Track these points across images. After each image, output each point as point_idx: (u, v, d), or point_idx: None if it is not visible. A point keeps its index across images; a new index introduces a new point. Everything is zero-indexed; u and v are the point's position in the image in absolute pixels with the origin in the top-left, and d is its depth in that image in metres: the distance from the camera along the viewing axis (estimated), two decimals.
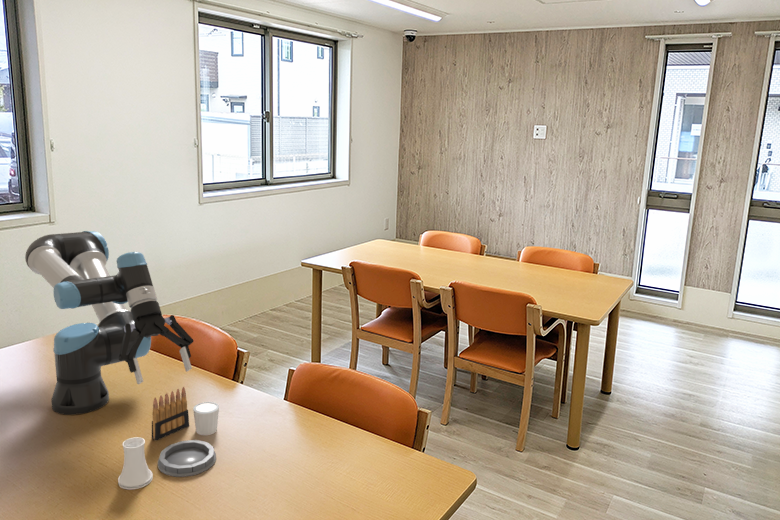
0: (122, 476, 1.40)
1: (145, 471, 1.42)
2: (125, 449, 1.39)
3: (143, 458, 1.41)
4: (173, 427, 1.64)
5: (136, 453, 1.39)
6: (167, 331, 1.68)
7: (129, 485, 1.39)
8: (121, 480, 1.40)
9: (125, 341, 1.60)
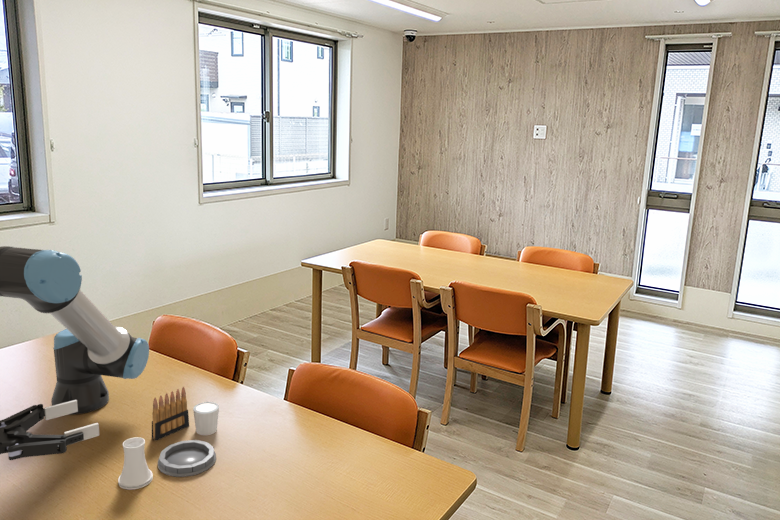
0: (122, 476, 1.40)
1: (145, 471, 1.42)
2: (125, 449, 1.39)
3: (143, 458, 1.41)
4: (173, 427, 1.64)
5: (136, 453, 1.39)
6: None
7: (129, 485, 1.39)
8: (121, 480, 1.40)
9: None
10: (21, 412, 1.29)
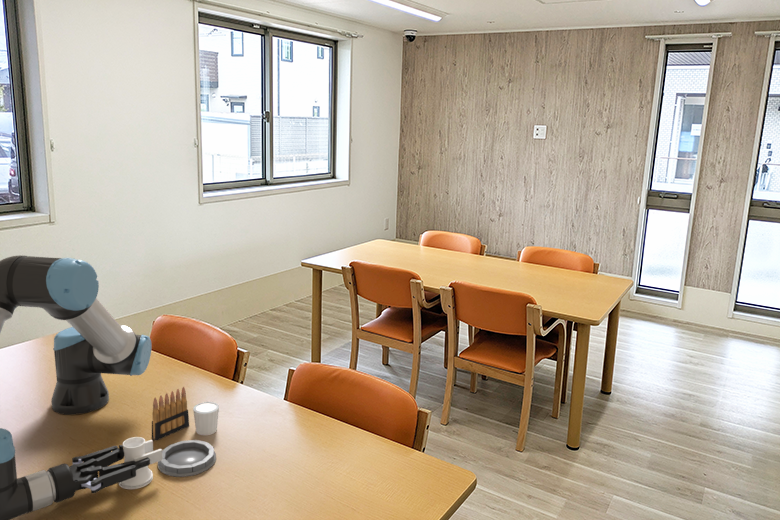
0: None
1: (145, 471, 1.42)
2: (125, 449, 1.39)
3: None
4: (173, 427, 1.64)
5: (136, 453, 1.39)
6: None
7: (129, 485, 1.39)
8: None
9: None
10: (100, 451, 1.41)
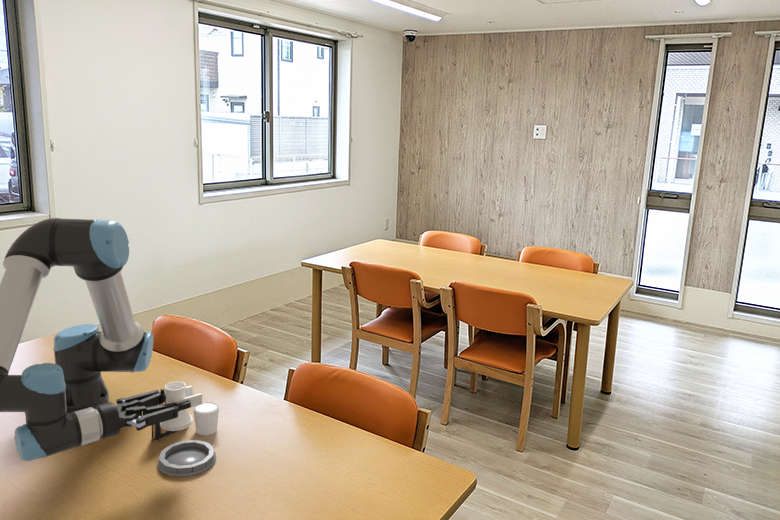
0: None
1: (186, 414, 1.46)
2: (167, 391, 1.43)
3: None
4: None
5: (178, 395, 1.43)
6: None
7: (171, 426, 1.43)
8: (163, 422, 1.44)
9: None
10: (143, 394, 1.45)
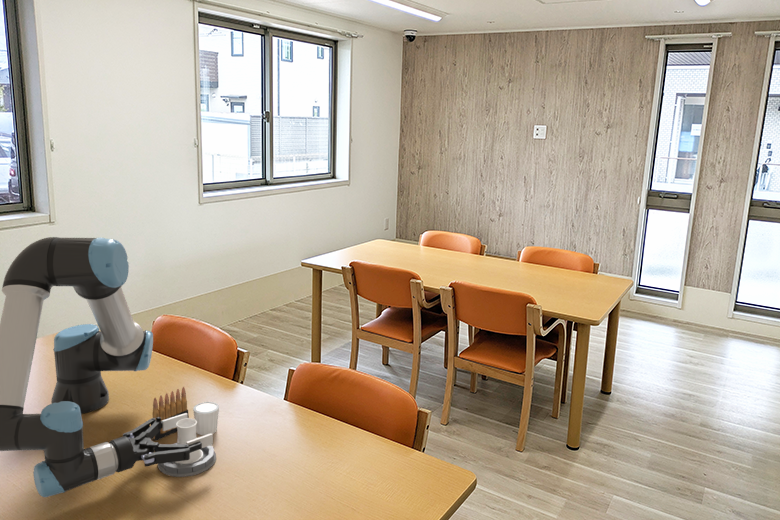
0: None
1: (197, 450, 1.50)
2: (179, 429, 1.48)
3: (195, 438, 1.50)
4: None
5: (189, 433, 1.48)
6: None
7: (183, 463, 1.48)
8: None
9: None
10: (144, 425, 1.50)
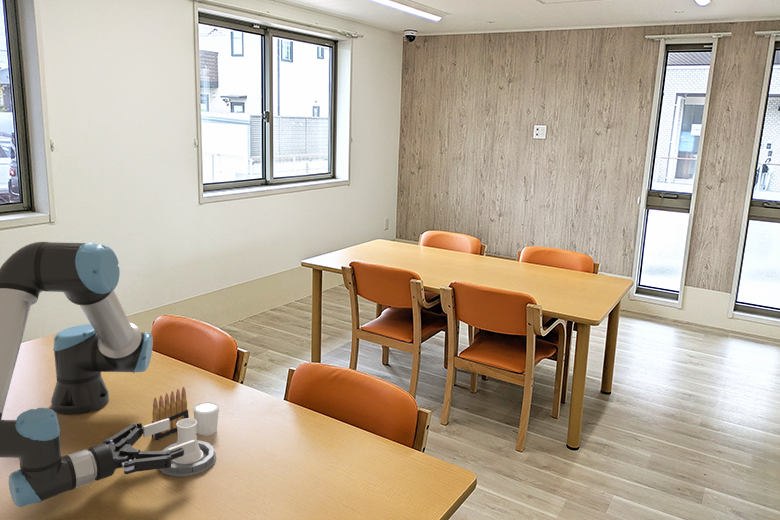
0: None
1: (197, 450, 1.50)
2: (179, 429, 1.48)
3: (195, 438, 1.50)
4: (173, 427, 1.64)
5: (189, 433, 1.48)
6: None
7: (183, 463, 1.48)
8: None
9: None
10: (124, 431, 1.46)
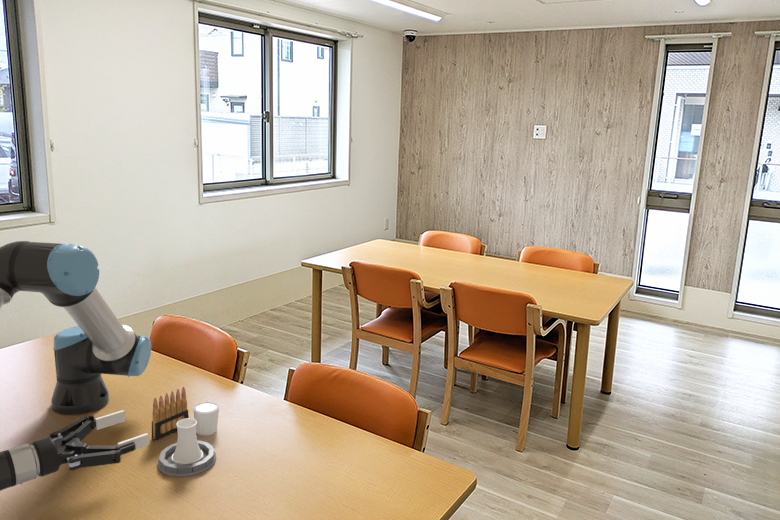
0: (176, 454, 1.49)
1: (197, 450, 1.50)
2: (179, 429, 1.48)
3: (195, 438, 1.50)
4: (173, 427, 1.64)
5: (189, 433, 1.48)
6: None
7: (183, 463, 1.48)
8: (175, 458, 1.49)
9: None
10: (75, 423, 1.39)
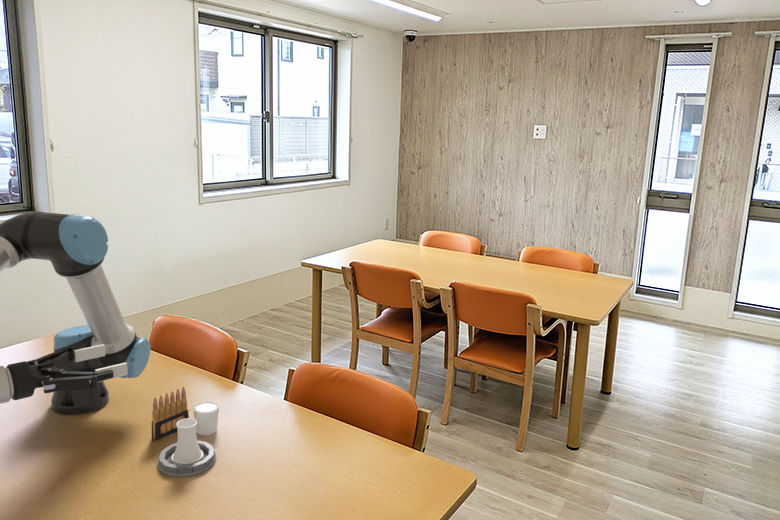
0: (176, 454, 1.49)
1: (197, 450, 1.50)
2: (179, 429, 1.48)
3: (195, 438, 1.50)
4: (173, 427, 1.64)
5: (189, 433, 1.48)
6: None
7: (183, 463, 1.48)
8: (175, 458, 1.49)
9: None
10: (53, 354, 1.35)
